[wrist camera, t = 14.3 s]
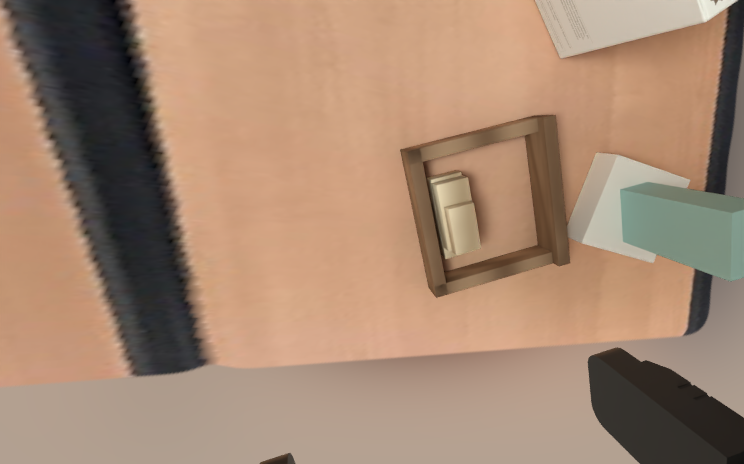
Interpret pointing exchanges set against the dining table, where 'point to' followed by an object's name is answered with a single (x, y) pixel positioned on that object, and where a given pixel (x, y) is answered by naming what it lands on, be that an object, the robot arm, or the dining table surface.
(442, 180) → the offcuts
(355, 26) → the dining table surface
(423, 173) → the square wooden frame
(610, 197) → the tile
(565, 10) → the supplement box
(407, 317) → the dining table surface
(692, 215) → the tall block
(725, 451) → the robot arm
